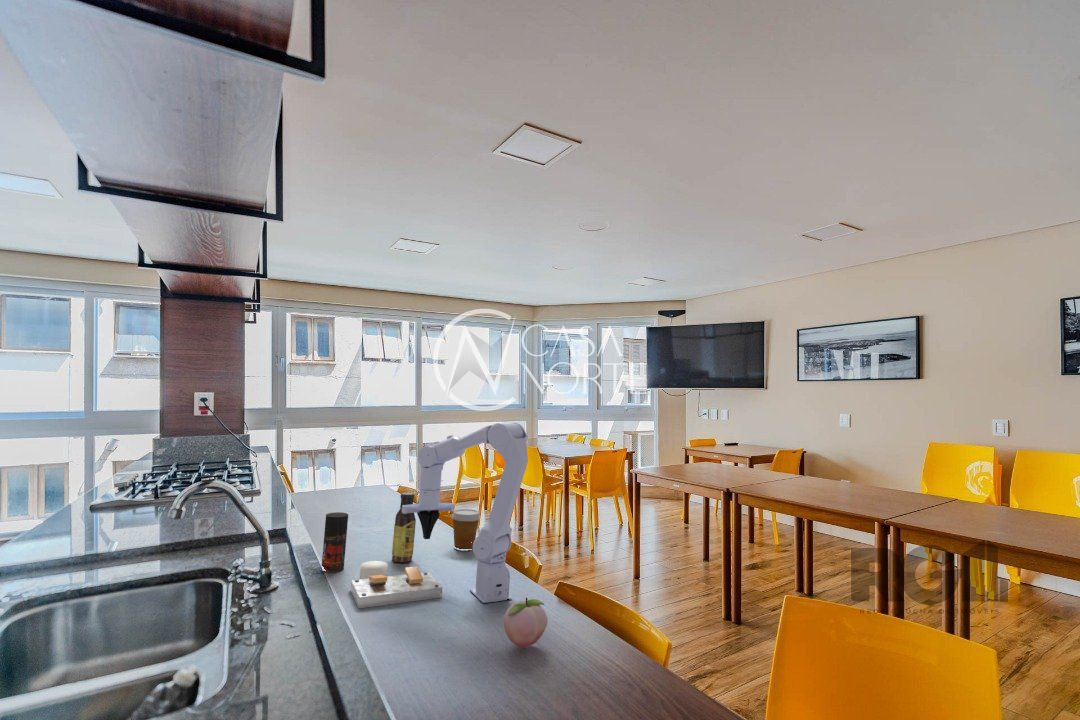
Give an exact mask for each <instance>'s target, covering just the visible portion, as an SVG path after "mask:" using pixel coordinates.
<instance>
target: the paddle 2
mask: <svg viewBox="0 0 1080 720" xmlns="http://www.w3.org/2000/svg"><path fill="white" fill-rule="evenodd" d="M404 573H405V574H406V575H407V578H408V580H409V582H410V584H412V583H420V582H423V577H422V575H421V573H422V572H421V571H420V570H419V567H418V566H417V565H415V566H406V567H404Z"/></svg>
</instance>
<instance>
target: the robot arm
mask: <svg viewBox="0 0 1080 720" xmlns="http://www.w3.org/2000/svg"><path fill="white" fill-rule="evenodd" d="M528 437H529V435H528V433H527V432H526V430H525V428H524V427H523V426H522V425H521V424H520V423H518V422H511V423H501V422H497V423H493V424H492V425H491V424H490V425H486V426H484V427H481V428H480V429H477V430H475V431H474V432H471V433H469V434H467V435H464V436H462V437H459V436H457V435H453V434H451V435H448V436H446V439H444V440H441V441H439V440H438V441H434V442H433V445H423V446H422V447H421V448H420V449H419V450H418V453H417V461H418V464H419V465H420V467H421V468H420V478H419V479H420V481H419V492H418V493H419V494H418V503H413V504H410V505H402V513H403V514H407V513H414V514H415V513H416V515H417V516H418V520H419V522H420V523H419V524H420V526H421V529H422V538H423V539H424V540H431V536H432V532H433V530H434V527H435V525H436V523H437V521H438V520H439V518H440V516H441V515H440V512H454V511H455V507H456V506H455V505H456V504H455V503H453V502H441V501H440V500H441V484H442V474H443V473H442V471H443V470H444V465H445V463H447V462H449V461H451V460H454V459H456V458H459V457H461V456H463V455H464V453H465V450H467V449H470V448H474V447H475V446H478V445H482V444H490V446H491V447H492V448H493V449H494V450H495V451H496V452H497V453H498V454H499V455H500V456H501V457H502V459H503V461H504V463H505V464H504V468H503V471H502V474H501V477H500V480H499V484H498V488H497V491H496V494H495V497H494V501H493V503H492V507H491V510H490V514H489V518H488V519H487V521H486V523H484V525H483V526H482V527H481V529H480V530H479V534H478V535H477V536H476V538H475V540H474V542H473V550H472V551H473V554H474V556H475V557H476V575H475V576H476V578H475V587H470V588H469V591H470V592H471V593H472V594H473V595H474V596H475V597H476V598H477V599H478V600H479V601H480V602H481V604H487V603H495V602H502V601H508V600H507V599H509V600H512V599H511V598H513V597H512V595H510V584H511V583H510V580H511V574H510V570H509V568H508V567H507V566H506V557H507V552H508V551H510V549H511V546H512V532H513V529H512V527H511V526H510V521H511V519H512V515H513V512H514V510H515V507H516V506H515V505H516V503H517V499H518V495H519V491H520V489H521V485H522V482H523V479H524V476H525V473H526V469H527V465H528V462H529V455H528V454H529V453H528V445H527V441H528Z"/></svg>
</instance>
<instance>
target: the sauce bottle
mask: <svg viewBox="0 0 1080 720" xmlns="http://www.w3.org/2000/svg"><path fill="white" fill-rule="evenodd" d="M414 499H415V493H414V492H401V493H400V506H399V507H400V508H399V509H398V511H397V513H396V515H395V519H394V525H393V537H392V547H391V555H392V556H391V560H392V562H394V563H400V564H401V563H409V562H411V561H412V559H413V555H414V547H415V535H416V534H415V533H416V526H417V525H416V523H417V519H416V516H415V513H407V514H403V513H402V505H410V504H414Z"/></svg>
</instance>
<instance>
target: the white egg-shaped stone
mask: <svg viewBox="0 0 1080 720" xmlns="http://www.w3.org/2000/svg"><path fill="white" fill-rule="evenodd" d="M374 575H384V576H386V577H387V576H388V563H387V562H385V561H380V560H370V561H366V562H365V561H364V562H362V563H361V564H360V567H359V577H358V578H359V579H368V578H369V576H374ZM359 579H358V580H359Z"/></svg>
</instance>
